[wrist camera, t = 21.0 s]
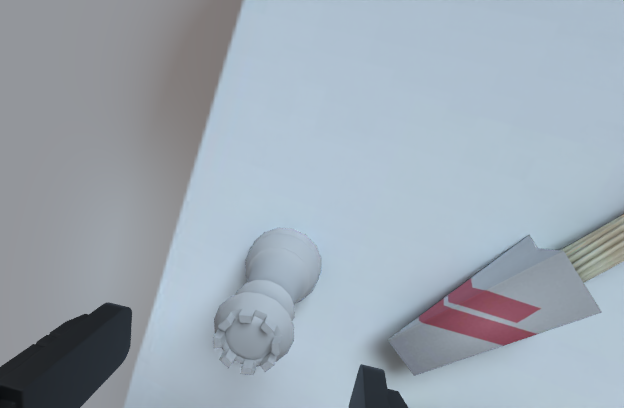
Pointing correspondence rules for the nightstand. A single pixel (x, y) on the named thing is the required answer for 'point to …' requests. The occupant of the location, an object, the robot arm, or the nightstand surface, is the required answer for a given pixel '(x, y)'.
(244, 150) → the nightstand surface
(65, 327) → the robot arm
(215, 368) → the nightstand surface
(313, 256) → the rook chess piece
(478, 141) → the nightstand surface
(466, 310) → the grey trowel
